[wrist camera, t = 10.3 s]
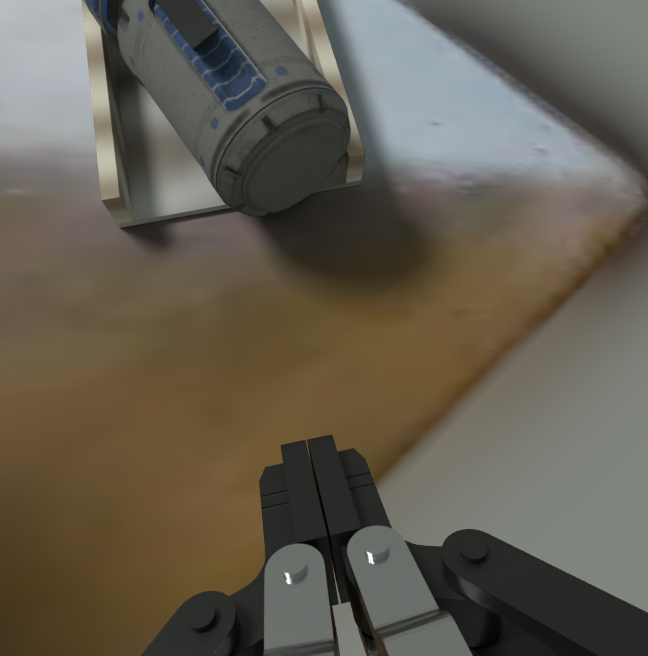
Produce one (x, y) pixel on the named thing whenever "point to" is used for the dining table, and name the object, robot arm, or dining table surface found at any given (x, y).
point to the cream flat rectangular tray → (163, 141)
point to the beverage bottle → (234, 95)
